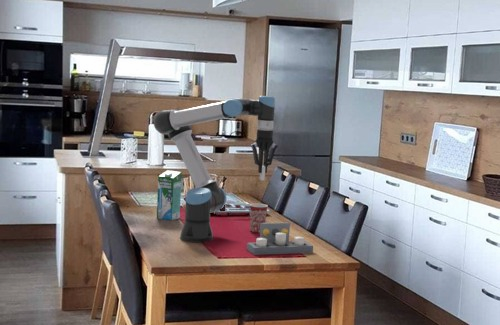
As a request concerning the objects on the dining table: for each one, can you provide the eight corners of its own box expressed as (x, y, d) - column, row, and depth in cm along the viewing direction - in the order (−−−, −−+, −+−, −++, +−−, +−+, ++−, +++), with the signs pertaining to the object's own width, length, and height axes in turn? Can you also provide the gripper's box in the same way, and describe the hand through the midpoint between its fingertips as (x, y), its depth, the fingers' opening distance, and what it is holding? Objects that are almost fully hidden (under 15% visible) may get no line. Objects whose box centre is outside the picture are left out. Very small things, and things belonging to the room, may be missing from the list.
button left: (258, 251, 290) (258, 240, 289) (254, 249, 294) (254, 237, 294) (267, 251, 291) (268, 240, 291) (264, 248, 296) (264, 237, 295)
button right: (295, 250, 296) (296, 239, 296) (291, 247, 300) (292, 236, 300) (305, 249, 298) (306, 238, 297) (301, 247, 302) (301, 236, 301)
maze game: (259, 209, 395) (259, 203, 395) (269, 216, 377) (270, 210, 376) (201, 209, 385) (201, 203, 385) (209, 216, 367) (209, 210, 366)
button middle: (277, 246, 293) (278, 235, 292) (273, 243, 297) (274, 232, 296) (287, 245, 294) (287, 234, 294) (283, 243, 299) (283, 232, 298)
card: (259, 249, 300) (261, 223, 298) (259, 249, 301) (260, 223, 299) (288, 248, 304) (290, 223, 303) (287, 248, 305) (289, 222, 304)
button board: (253, 257, 287) (254, 247, 287) (246, 251, 295) (247, 242, 295) (312, 254, 297) (313, 245, 296) (304, 249, 305) (304, 240, 305)
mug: (268, 233, 332) (269, 207, 331) (250, 233, 330) (252, 206, 329) (261, 227, 345) (263, 202, 343) (244, 227, 342) (246, 201, 341)
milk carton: (156, 218, 351) (158, 171, 348) (164, 215, 360) (166, 169, 357) (171, 220, 348) (173, 173, 345) (179, 218, 356) (181, 171, 353)
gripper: (254, 129, 303) (251, 181, 306) (281, 130, 308) (278, 181, 311) (249, 128, 310) (246, 178, 313) (275, 129, 315) (271, 178, 318)
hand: (262, 179), depth 312 cm, fingers closed
